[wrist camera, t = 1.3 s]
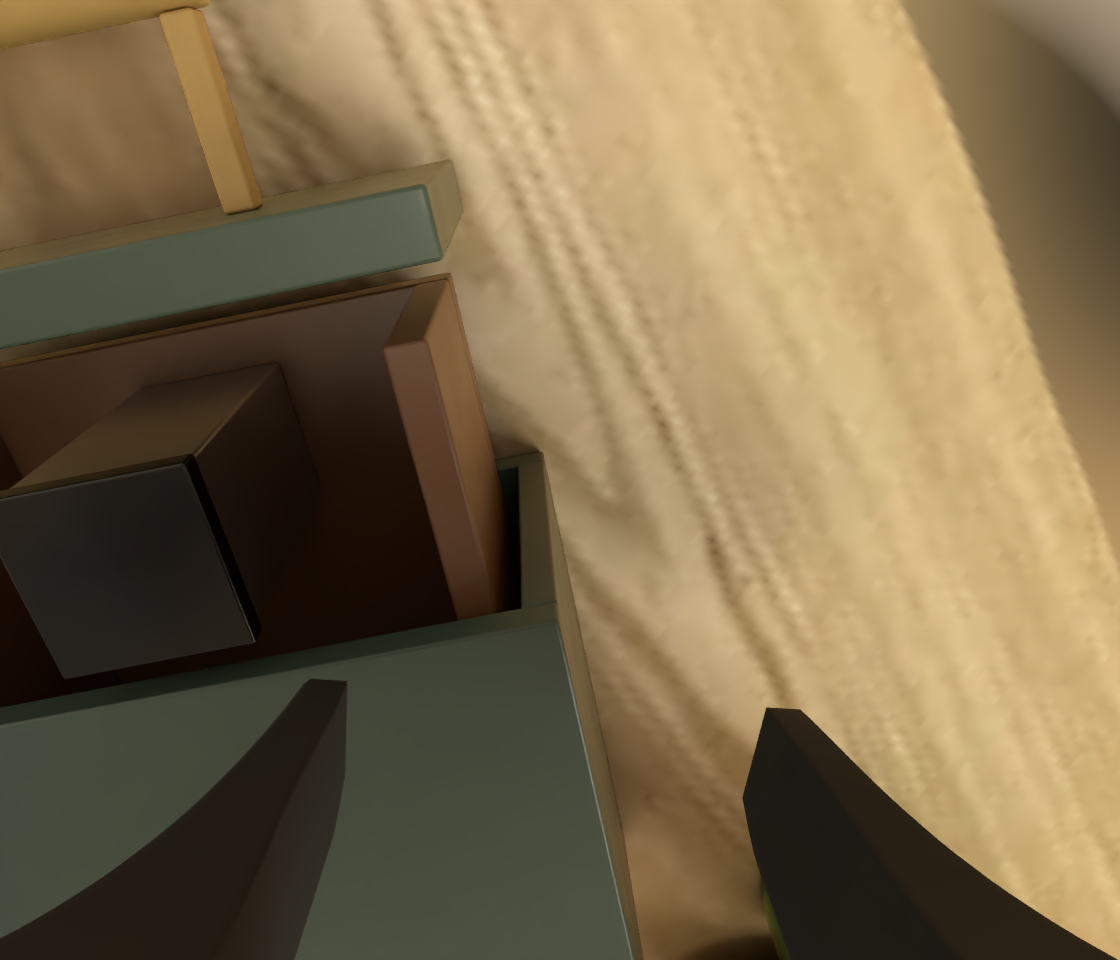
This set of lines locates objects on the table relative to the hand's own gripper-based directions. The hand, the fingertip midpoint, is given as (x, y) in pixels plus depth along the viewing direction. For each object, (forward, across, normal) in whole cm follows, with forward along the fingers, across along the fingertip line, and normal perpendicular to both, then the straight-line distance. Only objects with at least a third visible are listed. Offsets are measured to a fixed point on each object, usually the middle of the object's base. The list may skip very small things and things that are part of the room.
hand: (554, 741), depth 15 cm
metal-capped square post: (+8, +8, -2) cm, 11 cm away
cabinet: (+10, +5, +8) cm, 13 cm away
